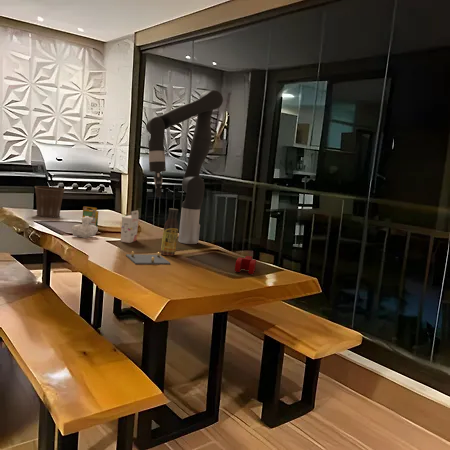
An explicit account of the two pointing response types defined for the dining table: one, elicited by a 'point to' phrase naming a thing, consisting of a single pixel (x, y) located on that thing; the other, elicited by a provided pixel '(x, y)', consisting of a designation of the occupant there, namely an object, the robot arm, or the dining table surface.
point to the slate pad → (147, 259)
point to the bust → (84, 228)
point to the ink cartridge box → (129, 227)
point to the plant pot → (48, 200)
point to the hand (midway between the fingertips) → (159, 196)
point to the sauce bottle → (170, 234)
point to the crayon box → (91, 215)
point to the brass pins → (152, 257)
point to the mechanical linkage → (245, 264)
